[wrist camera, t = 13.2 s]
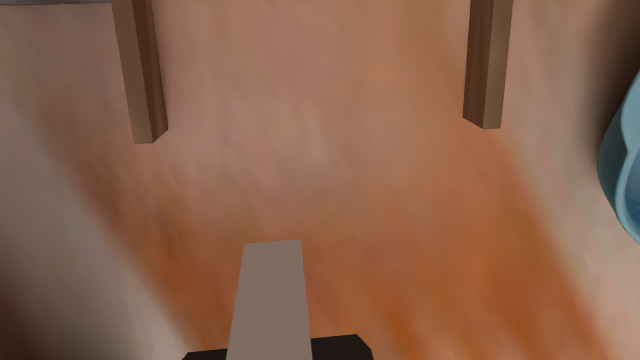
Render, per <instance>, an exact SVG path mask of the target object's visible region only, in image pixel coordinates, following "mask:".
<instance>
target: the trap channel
mask: <svg viewBox="0 0 640 360" xmlns="http://www.w3.org/2000/svg"><path fill="white" fill-rule="evenodd" d="M83 3H111V4H112V10H113V16H114V22H115V28H116V34H117V41H118V47H119V53H120V59H121V65H122V71H123V77H124V83H125V90H126V96H127V102H128V108H129V114H130V120H131V126H132V132H133V138H134V144H144V143H154V142H155V141H156V140H157V139H158V138H159V137H160V136H161V135H163V134H164V133H165V132H166V131H167V130H168V125H167V118H166V110H165V103H164V96H163V89H162V81H161V74H160V67H159V60H158V52H157V45H156V38H155V31H154V23H153V16H152V9H151V1H150V0H0V5H8V6H14V5H49V4H83ZM512 6H513V0H471V7H470V21H469V36H468V50H467V64H466V78H465V92H464V106H463V118H465V119H467V120H468V121H470V122H472V123H473V124H475V125H477V126H479V127H480V128H482V129H497V128H501V118H502V108H503V98H504V88H505V78H506V67H507V57H508V47H509V37H510V27H511V16H512Z"/></svg>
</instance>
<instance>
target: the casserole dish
mask: <svg viewBox="0 0 640 360" xmlns="http://www.w3.org/2000/svg"><path fill="white" fill-rule="evenodd" d="M597 171H598V178H599V182H600V185H601V187H602V190H603V192H604V194H605V196H606V198H607V200H608V202H609V203H610V205H611V207H612V208H613V210H614V212H615V214H616V216H617V218H618V220H619V221H620V223H621V225H622V226H623V228H624V229H625V230H626V231H627V233H628V234H629V235H630V236H631V237H632V238H633V239H634V240H635V241H636V242H638V243H639V244H640V68H639V70H638V72H637V73H636V75H635V77H634V79H633V80H632V82H631V84H630V86H629V88H628V90H627V92H626V95H625V97H624V99H623V101H622V103H621V105H620V107H619V108H618V110H617V112H616V114H615V116H614V117H613V119H612V121H611V123H610V125H609V127H608V129H607V131H606V133H605V136H604V138H603V140H602V143H601V146H600V149H599V154H598V161H597Z"/></svg>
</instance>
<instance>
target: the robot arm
mask: <svg viewBox="0 0 640 360" xmlns="http://www.w3.org/2000/svg"><path fill="white" fill-rule="evenodd" d="M182 360H374V359H373V355H372V352H371V349H370V348H369V347H368V346H367V345H366V344H365V343H364V341H363V340H362V339H361V338H360V337H359V336H358V335H357V334H353V335H342V336H332V337H322V338H312V339H310V330H309V320H308V310H307V299H306V289H305V279H304V269H303V259H302V249H301V239H298V240H287V241H275V242H263V243H252V244H245V245H244V251H243V258H242V264H241V270H240V276H239V282H238V288H237V295H236V301H235V307H234V313H233V319H232V325H231V332H230V338H229V344H228V349H218V350H208V351H198V352H188V353H187V354H186V356H185V357H184V358H183V359H182Z"/></svg>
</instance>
